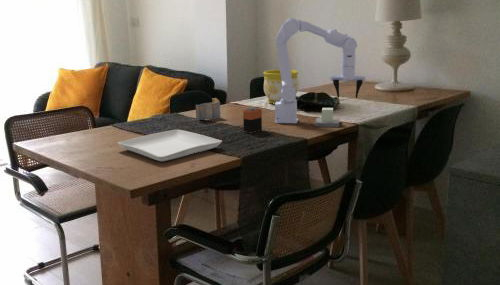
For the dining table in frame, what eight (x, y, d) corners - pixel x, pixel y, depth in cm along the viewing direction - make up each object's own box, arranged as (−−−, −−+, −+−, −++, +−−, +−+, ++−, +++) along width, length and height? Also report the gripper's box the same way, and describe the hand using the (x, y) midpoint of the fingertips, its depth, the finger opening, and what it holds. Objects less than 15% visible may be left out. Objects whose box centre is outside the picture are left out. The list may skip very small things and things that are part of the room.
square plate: (116, 151, 183) (115, 141, 182) (178, 137, 201) (177, 128, 200) (160, 166, 164) (159, 155, 163) (224, 149, 183) (223, 139, 182)
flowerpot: (259, 105, 264) (259, 73, 260) (269, 99, 280) (268, 69, 276) (293, 106, 258) (293, 74, 254) (301, 100, 275) (301, 69, 271)
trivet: (314, 126, 214) (314, 122, 214) (316, 121, 223) (316, 117, 223) (338, 127, 212) (338, 123, 212) (339, 121, 221) (339, 118, 221)
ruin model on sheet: (217, 117, 237) (216, 97, 235) (220, 118, 235) (219, 98, 232) (195, 121, 231) (194, 100, 228) (199, 122, 228) (198, 100, 226)
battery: (243, 132, 206) (242, 108, 204) (254, 129, 211) (254, 105, 209) (250, 133, 204) (250, 109, 201) (262, 130, 208) (262, 106, 206)
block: (321, 121, 216) (321, 109, 215) (322, 119, 220) (322, 107, 219) (332, 121, 215) (332, 109, 214) (332, 119, 219) (333, 107, 218)
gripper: (365, 64, 219) (364, 96, 222) (331, 64, 222) (330, 95, 225) (365, 66, 212) (364, 98, 216) (330, 66, 215) (329, 98, 219)
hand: (347, 97), depth 220 cm, fingers open, 7 cm apart
